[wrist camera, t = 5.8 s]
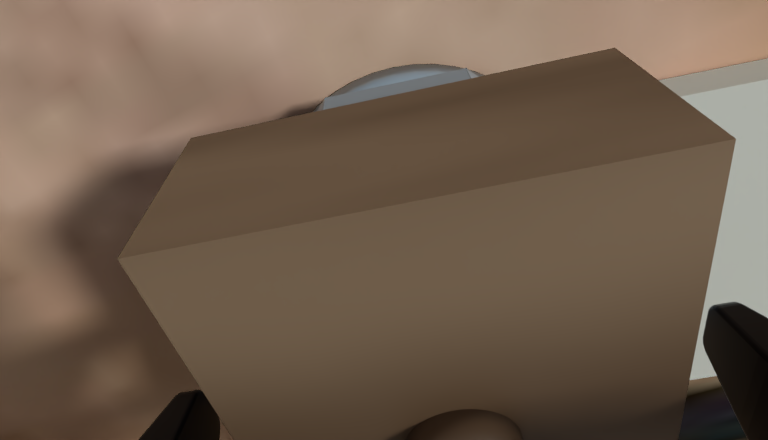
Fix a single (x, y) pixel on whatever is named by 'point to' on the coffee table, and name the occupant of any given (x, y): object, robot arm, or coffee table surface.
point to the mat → (736, 188)
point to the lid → (446, 260)
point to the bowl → (396, 83)
